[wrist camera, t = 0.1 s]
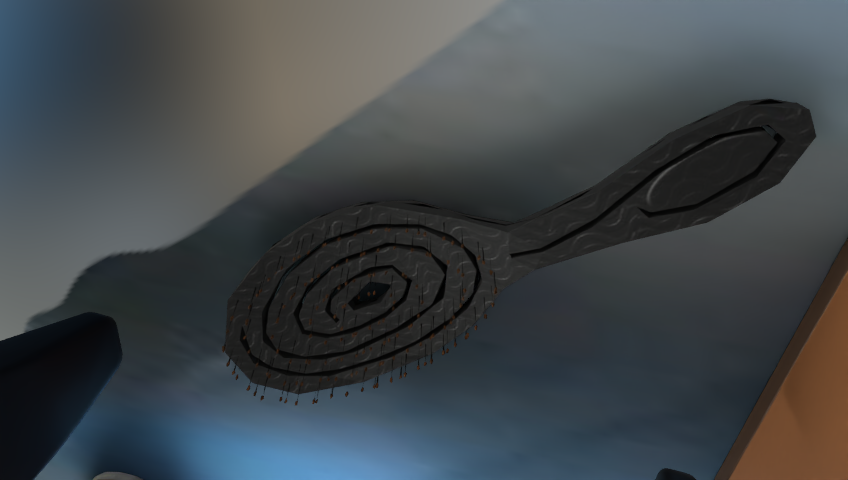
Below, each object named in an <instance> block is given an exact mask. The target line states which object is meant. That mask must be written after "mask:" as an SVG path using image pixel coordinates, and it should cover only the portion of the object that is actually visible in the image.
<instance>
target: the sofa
mask: <svg viewBox="0 0 848 480" xmlns="http://www.w3.org/2000/svg"><path fill="white" fill-rule="evenodd" d="M714 480H848V238H847V240H846V242H845V244H844V245H843V247H842V249H841V251H840V253H839V255H838V256H837V258H836V260H835V262H834V264H833V265H832V267H831V269H830V271H829V273H828V274H827V276H826V278H825V280H824V282H823V283H822V285H821V287H820V289H819V291H818V293H817V294H816V296H815V298H814V300H813V302H812V303H811V305H810V307H809V309H808V311H807V312H806V314H805V316H804V318H803V320H802V321H801V323H800V325H799V327H798V329H797V331H796V332H795V334H794V336H793V338H792V340H791V341H790V343H789V345H788V347H787V349H786V350H785V352H784V354H783V356H782V358H781V359H780V361H779V363H778V365H777V367H776V368H775V370H774V372H773V374H772V376H771V378H770V379H769V381H768V383H767V385H766V387H765V388H764V390H763V392H762V394H761V396H760V397H759V399H758V401H757V403H756V405H755V406H754V408H753V410H752V412H751V414H750V416H749V417H748V419H747V421H746V423H745V425H744V426H743V428H742V430H741V432H740V434H739V435H738V437H737V439H736V441H735V443H734V444H733V446H732V448H731V450H730V452H729V454H728V455H727V457H726V459H725V461H724V463H723V464H722V466H721V468H720V470H719V472H718V473H717V475H716V477H715V479H714Z"/></svg>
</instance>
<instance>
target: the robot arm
mask: <svg viewBox="0 0 848 480" xmlns="http://www.w3.org/2000/svg"><path fill="white" fill-rule="evenodd" d="M122 355H123V354H122V348H121V343H120V339H119V334H118V329H117V325H116V322H115V321H114V319H113V318H111V317H109V316H105V315H102V314H98V313H94V312H87V313H83V314H80V315H77V316H74V317H71V318H68V319H65V320H62V321H59V322H56V323H53V324H50V325H47V326H44V327H41V328H38V329H35V330H32V331H29V332H26V333H23V334H20V335H17V336H14V337H11V338H8V339H5V340H2V341H0V480H34V479H35V478H36V477H37V475H38V474H39V473H40V472H41V471H42V470H43V468H44V467H45V466H46V465H47V464H48V463H49V461H50V460H51V459H52V458H53V457H54V456H55V454H56V453H57V452H58V451H59V449H60V448H61V447H62V446H63V445H64V443H65V442H66V441H67V439H68V438H69V437H70V435H71V434H72V433H73V431H74V430H75V428H76V427H77V426H78V424H79V423H80V421H81V420H82V419H83V417H84V416H85V414H86V413H87V412H88V410H89V409H90V407H91V406H92V405H93V403H94V402H95V400H96V399H97V398H98V396H99V395H100V393H101V392H102V390H103V389H104V388H105V386H106V385H107V383H108V382H109V381H110V379H111V378H112V376H113V375H114V374H115V372H116V371H117V369H118V368H119V366H120V364H121V361H122ZM655 480H696V479H695V478H694V477H693V476H691V475H690V474H687V473H683V472H679V471H676V470H672V469H668V468H664V469H662V470H661V471H660V472H659V473H658V475H657V477H656V479H655Z"/></svg>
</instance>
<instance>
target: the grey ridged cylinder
mask: <svg viewBox="0 0 848 480" xmlns="http://www.w3.org/2000/svg"><path fill="white" fill-rule="evenodd" d="M93 480H143V479H141V478H139V477H137V476H134V475H130V474H126V473H122V472H104V473H102V474H100V475H97V476H96V477H95V478H94V479H93Z"/></svg>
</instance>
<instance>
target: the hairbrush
mask: <svg viewBox="0 0 848 480" xmlns="http://www.w3.org/2000/svg"><path fill="white" fill-rule="evenodd" d="M763 125H767V126H769V127H771V128H772V129H774V130H775V131H776V132H777V134H776V135H775V137H774V138H772V137H771V136H770V135H769V134H768V133H767V132H766V131H765V130H764V129H763V128H762V127H758V126H763ZM714 135H716V136H714ZM712 136H714V137H712ZM710 137H712V138H710ZM815 137H816V133H815V129H814V125H813V121H812V117H811V113H810V110H809V109H807V108H805V107H804V106H802V105H800V104H798V103H792V102H786V101H780V100H774V99H763V100H752V101H741V102H738V103H736V104H733V105H731V106H729V107H727V108H724V109H722V110H720V111H718V112H715V113H713V114H711V115H709V116H706V117H704V118H702V119H700V120H698V121H695V122H693V123H691V124H689V125H687V126H685V127H682V128H680V129H678V130H676V131H674V132H671V133H669V134H668V135H666V136H665V137H664V138H662V139H661V140H659V141H658V142H656V143H655V144H654V145H652V146H651V147H649V148H648V149H646V150H645V151H644V152H642V153H641V154H639V155H638V156H636V157H635V158H634V159H632V160H631V161H629V162H628V163H627V164H625V165H624V166H622V167H621V168H619V169H618V170H617V171H615V172H614V173H612V174H611V175H609V176H608V177H607V178H605V179H604V180H602V181H601V182H599V183H598V184H597V185H595V186H593V187H591V188H589V189H586V190H584V191H582V192H580V193H578V194H576V195H573V196H571V197H569V198H567V199H565V200H563V201H560V202H558V203H556V204H554V205H552V206H550V207H547V208H545V209H543V210H541V211H539V212H537V213H535V214H532V215H530V216H528V217H526V218H524V219H522V220H519V221H517V222H515V223H513V222H507V221H501V220H495V219H489V218H483V217H477V216H471V215H466V214H462V213H459V212H455V211H451V210H448V209H444V208H440V207H436V206H433V205H429V204H425V203H422V202H418V201H414V200H408V201H384V202H361V203H358V204H355V205H351V206H348V207H345V208H342V209H339V210H336V211H333V212H330V213H327V214H324V215H321V216H318V217H316V218H314V219H312V220H311V221H309V222H308V223H306V224H304V225H302V226H300V227H299V228H298V229H296V230H295V231H293V232H292V233H291V234H289V235H288V236H286V237H285V238H283V239H282V240H280V241H278V242H277V243H275V244H274V245H273V246H272V247H271V248H270V250H268V251H267V252H266V253H265V254H264V255H263V256H262V257H261V258H260V259H259V261H258V262H257V263H256V264H255V265H254V266H253V267H252V268H251V269H250V271H249V272H248V273H247V275H246V276H245V278H244V279H243V280H242V282H241V283H240V284H239V286H238V287H237V288H236V290H235V291H234V293H233V294H232V295H231V297H230V298H229V299H228V306H227V325H226V344H224V346H222V351H223V352H224V350H225V353H226V354H227V355H228V356H229V357H230V359H231V360H232V361H233V362H234V363H235V364H236V365H237V366H238V367H239V369H241V371H242V372H243V373H244V374H245V375H246V376H247V377H248V378H249V379H250V380H251V381H250V383H251V382H252V383H255V384H257V386H258V384H259V385H263V386H265V387H266V386H267V387H271V388H275V389H279V390H283V391H287V392H291V393H295V394H298V395H299V394H302V393H307V392H312V391H319V390H323V389H328V388H334V387H339V386H344V385H350V384H355V383H360V382H365V381H367V380H370V379H372V378H375V377H377V376H379V375H382V374H384V373H387V372H389V371H391V370H394V369H396V368H399V367H401V372H400V378H399V379H401V378H402V375H401V373H402V366H404V365H405V371H406V364H408V363H411V362H413V361H416V360H418V359H421V358H423V357H425V361H426V356H428V355H430V354H431V360H430V362H431V364H432V362H433V359H432V354H433V353H434V352H436V351H437V350H439V349H440V348H442V347H443V351H442V355H444V354H445V351H444V345H446V344H448V343H449V342H450V341H451V340H453V339H454V338H455V342H454V347H456V345H457V344H456V337H457V336H459V335H460V334H461V333H463V332H464V331H466V330H467V329H469V328H470V327H471V326H473V325H474V324H475V323H476V322H477V320H478V319H479V318H480V317H481V315H482V314H483V313H484V312H485V311H486V309H487V308H488V307H489V306H490V304H491V305H492V307H494V303H492V302H493V301H494V300H495V298H496V297H497V296H498V295H499V293H500V292H501V291H502V290H503V289H504V288H506V287H507V286H509V285H510V284H512V283H514V282H515V281H517V280H519V279H520V278H522V277H524V276H525V275H527V274H528V273H530V272H532V271H533V270H535V269H539V268H542V267H545V266H548V265H552V264H555V263H558V262H561V261H565V260H568V259H571V258H575V257H578V256H581V255H584V254H588V253H591V252H594V251H597V250H601V249H604V248H607V247H610V246H614V245H617V244H620V243H624V242H628V241H632V240H636V239H640V238H645V237H649V236H653V235H657V234H661V233H665V232H669V231H674V230H678V229H682V228H686V227H690V226H694V225H699V224H703V223H707V222H709V221H711V220H713V219H715V218H717V217H718V216H720V215H722V214H724V213H726V212H728V211H729V210H731V209H733V208H735V207H737V206H739V205H740V204H742V203H744V202H746V201H748V200H750V199H751V198H753V197H755V196H757V195H759V194H761V193H762V192H764V191H766V190H768V189H770V188H772V187H773V186H775V185H777V184H779V183H780V182H781V181H782V179H783V178H784V177H785V175H786V174H787V173H788V172H789V170H790V169H791V168H792V167H793V165H794V164H795V163H796V162H797V160H798V159H799V158H800V156H801V155H802V154H803V153H804V151H805V150H806V149H807V148H808V146H809V145H810V144H811V143H812V141H813V140H814V139H815ZM708 138H709V139H708ZM372 224H376V225H372ZM369 225H372V226H369ZM366 226H368V227H366ZM363 227H364V228H363ZM338 235H339V236H338ZM335 236H337V237H336V238H334V239H332V240H330V241H329V242H327V243H325V240H326V239H329V238H332V237H335ZM323 241H324V243H323V244H322V246H320V247H318V248H316V249H315V250H313V251H312V252H311V253H310V251H311V250H312V249H314V248H315V247H316V246H318V245H319V244H321V243H322V242H323ZM305 254H308V255H307V256H306V257H305V258H304V259H303V260H302V261H301V262H300V263H299V264H298V265H297V266H296V267H295V268H294V270H293V271H292V272H291V273H290V274H289V275H288V276H287V277H286V279H285V281H284V283H283V284H282V286H281V288H280V290H279V291H278V293H277V295H276V297H275V298H274V296H275V293H276V291H277V288H278V286H279V283H280V281H281V278H282V276H283V275H284V274H285V273H286V272H287V271H288V270H289V269H290V268H291V267H292V266H293V264H294V263H295V262H296V261H297V260H299V259H300V258H301V257H303V256H304V255H305ZM347 256H348V257H347ZM344 257H347V258H346V259H344V260H343V261H341V262H340V263H339V264H338V263H337V264H336V266H335V267H334V266H332V265H333V264H334V263H335V262H337V261H338V260H339V259H341V258H344ZM330 266H332V267H331V270H329V271H328V272H327V273H325V274H324V275H323V276H321V277H320V274H322V273H323V272H324V271H325V270H327V269H328V268H329V267H330ZM478 266H479V270H480V273H481V279H480V282H479V285H478V287H477V288H476V290H475V291H474V293H473V288H474V285H475V283H476V280H477V274H478ZM369 267H370V268H369ZM367 268H368V269H367ZM446 271H447V276H446V285H445V286H444V287H443V289H442V290H441V292H440V293H439V294H438V292H439V290H440V288H441V285H442V282H443V279H444V277H445V274H446ZM319 277H320V278H319ZM315 278H319V279H318V280H317V282H316V283H315V284H313V285H312V287H311V289H310V290H309V292H308V294H307V296H306V298H305V301H304V303H303V306H302V300H303V297H304V296H305V294H306V293H307V291H308V289H309V288H310V286H311V284H312V283H313V281H314V280H315ZM410 279H411V286H410V289H409V291H408V293H407V295H406V296H405V297H404V298H403V300H401V301H400V302H398V303H396V302H397V301H398V300H399V299H400V298H401V297H403V295H404V293H405V291H406V290H407V287H408V285H409V283H410ZM345 281H346V282H345ZM343 282H345V284H344V285H342V286H341V285H340V284H342V283H343ZM369 282H370V284H371V282H375V284H376V282H377V283H384V284H391V287H390V288H389V289H388V290H387V291H386V292H385V293H384V294H382V295H381V296H380V297H377V298H373V299H369V300H365V301H361V302H359V301H358V300H359V299H360V290H361V289H363V288H364V287H365V286H366V285H367V284H368V283H369ZM338 285H339V287H338ZM337 287H338V289H339V290H338V292H337V293H336V294H335V296H334V297H333V298H332V299H331V295H332V293H333V292H334V291H335V289H336V288H337ZM340 287H341V288H340ZM369 291H370V288H369ZM358 292H359V295H358V299H357V298H356V296H355V295H356V294H357V293H358ZM472 293H473V294H472ZM370 294H371V293H369V292H368V293H367V295H368V296H370ZM375 294H376V293H375V291H374V292H373V296H374V295H375ZM437 294H438V296H437ZM471 294H472V296H471V297H470V298H469V296H470V295H471ZM436 296H437V297H436ZM435 297H436V298H435ZM273 298H274V300H273ZM468 298H469V300H468V301H467V303H466V304H465V306H464V307H463V308H461V307H462V305H463V303H464V302H465V301H466V300H467V299H468ZM434 299H435V300H434ZM272 300H273V302H272ZM271 303H272V304H271ZM395 303H396V304H395ZM394 304H395V305H394ZM429 306H430V307H429ZM427 307H429V308H427ZM426 308H427V309H426ZM459 308H461V309H460V310H458V309H459ZM424 309H425V310H424ZM422 310H423V311H422ZM457 310H458V311H457ZM456 311H457V312H456ZM485 318H487V314H484V319H485ZM477 327H478V326H477V325H476V326H475V330H477ZM467 337H469V333H467V335H465V339H468V338H467ZM448 351H449V349H448V348H447V349H446V353H448ZM230 359H229V362H228V363H227V365H226V366H229V364H230ZM426 364H427V363H426V362H424V366H425V365H426ZM236 365H235V368H236ZM235 368H234V371H233V372H232V375H233V374H234V373H235ZM417 369H418V370H419V369H420V368H419V360H418V366H417ZM406 375H407V373H406V372H405V373H404V377H406ZM237 379H238V375H237V376H236V380H237ZM375 381H376V378H375ZM390 382H391V383H392V377H391V378H390ZM375 387H376V388H378V377H377V383H376V385H375V384H374V386H373V388H374V389H375ZM249 389H250V385H249V386H248V388H247V390H248V391H249ZM256 390H257V388H256ZM363 390H364V388H363V387H362V389H361V392H362V391H363ZM264 391H265V389H264ZM256 392H257V391H255V392H254V396H255V395H256ZM282 393H283V392H282ZM315 393H316V392H315ZM263 394H264V393H263ZM347 395H348V392H346V394H345V396H346V397H347ZM287 396H288V394H287ZM317 396H318V395H317ZM332 397H333V389H332V394H331V395H330V398H332ZM262 399H264V396H261V400H262ZM314 399H315V398H314ZM281 400H282V397H280V401H281ZM297 400H298V399H297ZM317 401H318V399H317V400H316V401H315V400H313V403H312V404H314V403H317ZM286 402H287V399H286V400H285V402H284V403H286ZM297 403H298V401H296V402H295V405H297Z"/></svg>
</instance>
